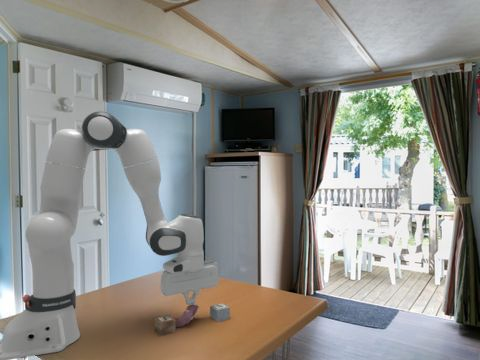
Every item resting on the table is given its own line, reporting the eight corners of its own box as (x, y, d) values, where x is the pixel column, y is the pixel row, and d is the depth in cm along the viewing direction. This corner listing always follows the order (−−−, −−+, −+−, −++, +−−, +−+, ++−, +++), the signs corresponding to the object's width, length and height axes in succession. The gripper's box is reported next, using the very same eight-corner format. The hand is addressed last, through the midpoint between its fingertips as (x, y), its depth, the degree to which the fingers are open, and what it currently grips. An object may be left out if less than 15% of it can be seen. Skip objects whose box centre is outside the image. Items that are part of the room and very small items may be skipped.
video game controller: (184, 333, 119) (194, 314, 119) (172, 326, 120) (181, 307, 119) (194, 321, 129) (202, 304, 128) (183, 314, 130) (191, 297, 129)
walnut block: (160, 336, 114) (160, 322, 113) (154, 330, 118) (154, 317, 118) (175, 332, 116) (175, 319, 116) (169, 327, 120) (169, 314, 120)
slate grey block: (217, 322, 124) (217, 309, 124) (210, 317, 129) (210, 305, 129) (229, 319, 127) (229, 306, 127) (222, 314, 131) (222, 302, 131)
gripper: (213, 256, 132) (213, 295, 132) (158, 264, 121) (158, 306, 121) (222, 260, 127) (222, 300, 127) (165, 268, 116) (165, 312, 116)
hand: (190, 303), depth 124 cm, fingers closed
